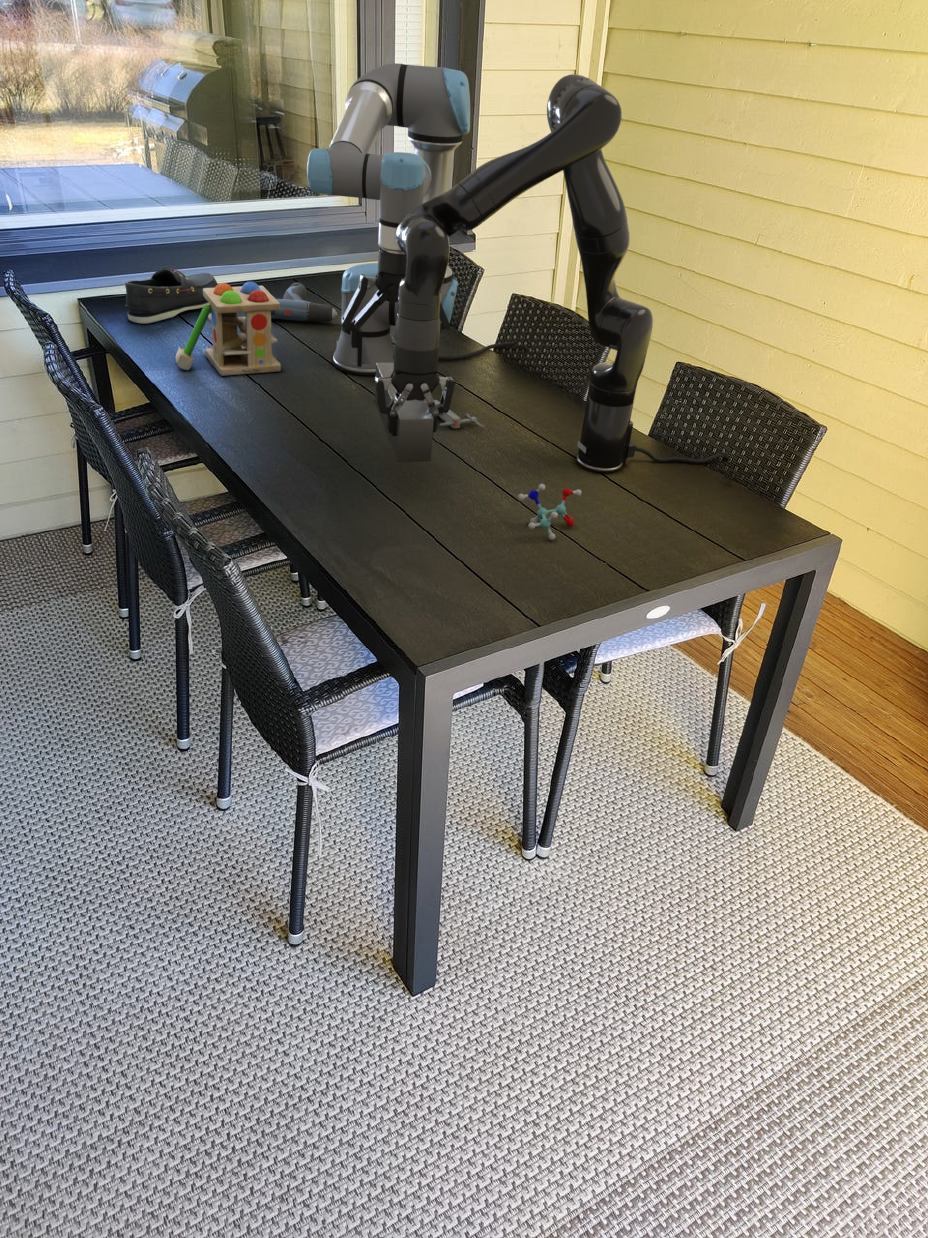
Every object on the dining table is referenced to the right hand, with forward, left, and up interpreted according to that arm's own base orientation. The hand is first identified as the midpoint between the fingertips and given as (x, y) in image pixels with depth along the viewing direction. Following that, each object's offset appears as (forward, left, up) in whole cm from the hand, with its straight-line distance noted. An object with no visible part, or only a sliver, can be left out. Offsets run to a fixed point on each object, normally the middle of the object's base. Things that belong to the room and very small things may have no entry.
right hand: (412, 433), depth 174 cm
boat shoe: (+6, -121, -13) cm, 122 cm away
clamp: (-25, -29, -13) cm, 41 cm away
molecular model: (-18, +18, -13) cm, 29 cm away
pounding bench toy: (+8, -76, -13) cm, 78 cm away
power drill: (-26, -107, -13) cm, 111 cm away
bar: (-3, -10, -4) cm, 11 cm away
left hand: (-6, -19, +5) cm, 21 cm away
